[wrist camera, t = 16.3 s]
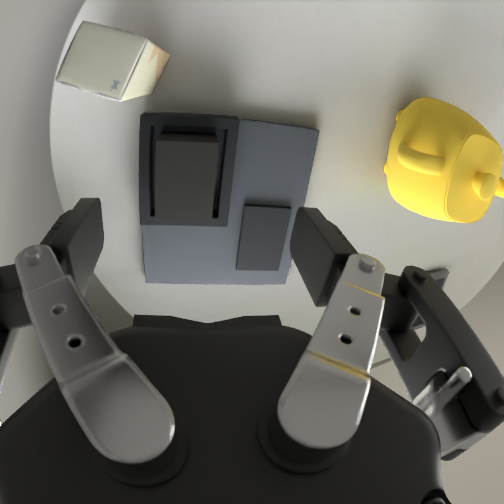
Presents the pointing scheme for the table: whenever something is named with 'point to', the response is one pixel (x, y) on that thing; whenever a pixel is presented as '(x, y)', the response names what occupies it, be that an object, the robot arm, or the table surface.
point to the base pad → (229, 202)
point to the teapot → (443, 162)
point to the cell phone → (440, 278)
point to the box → (111, 63)
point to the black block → (185, 175)
